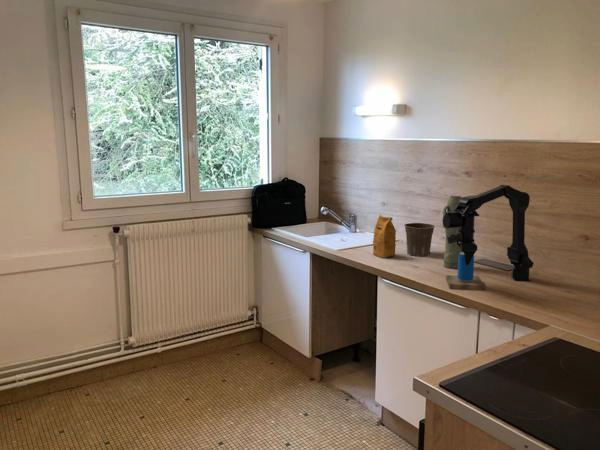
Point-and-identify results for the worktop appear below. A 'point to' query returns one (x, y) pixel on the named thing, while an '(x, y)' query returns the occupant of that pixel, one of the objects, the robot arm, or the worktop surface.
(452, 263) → the thermos
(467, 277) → the beverage can
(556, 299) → the worktop surface
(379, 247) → the coffee package
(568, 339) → the worktop surface
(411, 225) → the plant pot
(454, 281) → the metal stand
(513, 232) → the robot arm
